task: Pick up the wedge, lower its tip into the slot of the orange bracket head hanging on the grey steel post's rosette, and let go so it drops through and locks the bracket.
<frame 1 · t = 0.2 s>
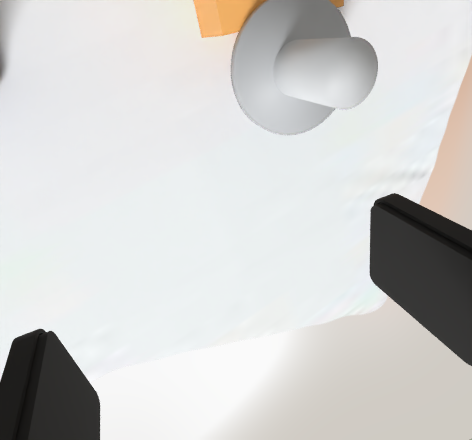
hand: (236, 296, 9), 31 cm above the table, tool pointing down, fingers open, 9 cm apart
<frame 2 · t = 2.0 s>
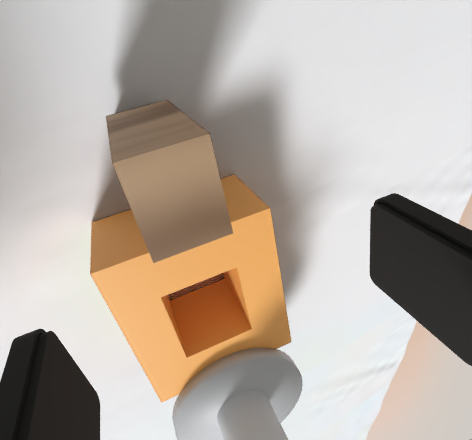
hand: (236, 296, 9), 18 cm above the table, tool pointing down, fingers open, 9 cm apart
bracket: (188, 263, 31), on the table
wedge: (145, 137, 24), on the table
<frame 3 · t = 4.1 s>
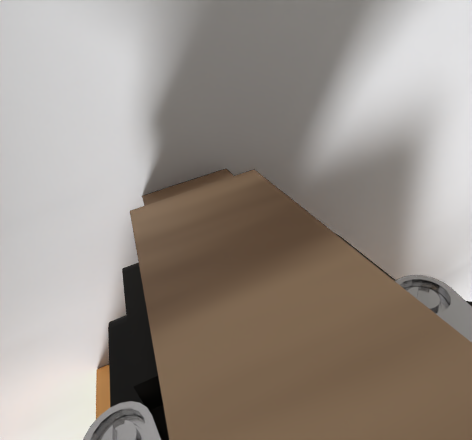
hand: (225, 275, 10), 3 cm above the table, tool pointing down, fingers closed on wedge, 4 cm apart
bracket: (250, 399, 19), on the table
wedge: (198, 227, 13), on the table, touching gripper
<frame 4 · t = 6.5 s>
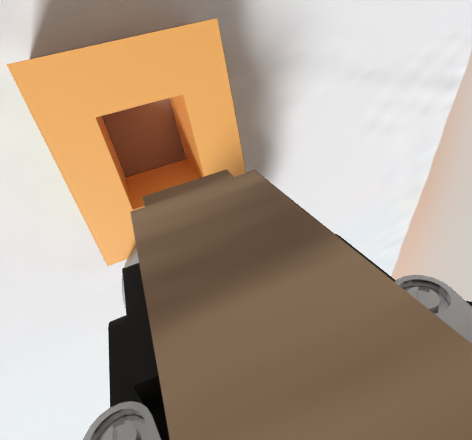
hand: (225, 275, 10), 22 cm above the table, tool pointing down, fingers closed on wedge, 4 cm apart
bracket: (144, 132, 28), on the table
wedge: (199, 228, 13), point 18 cm above the table, touching gripper
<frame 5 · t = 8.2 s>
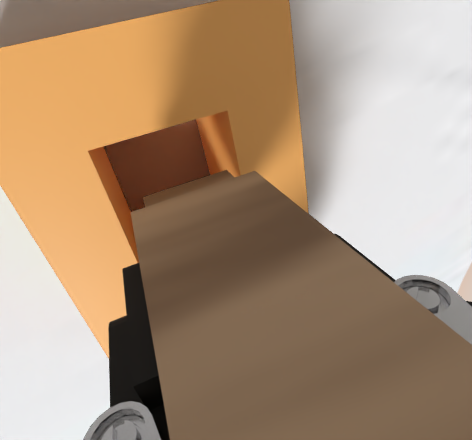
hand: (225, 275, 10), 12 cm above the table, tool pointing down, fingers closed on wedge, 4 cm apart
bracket: (159, 157, 20), on the table
wedge: (199, 228, 13), point 9 cm above the table, touching gripper
when the fingers open (8 cm above the table, at t = 9.4 s): wedge drops 4 cm, resting in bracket.
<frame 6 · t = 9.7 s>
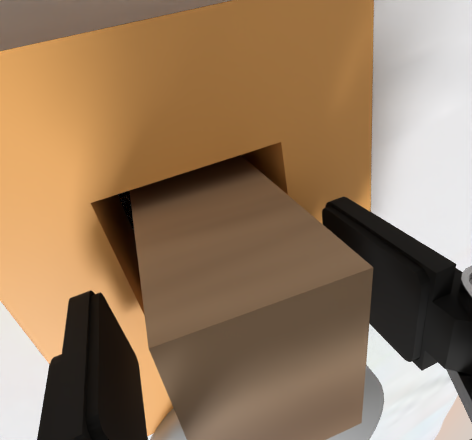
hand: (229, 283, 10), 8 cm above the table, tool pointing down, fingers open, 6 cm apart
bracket: (177, 187, 17), on the table
wedge: (179, 185, 17), resting in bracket
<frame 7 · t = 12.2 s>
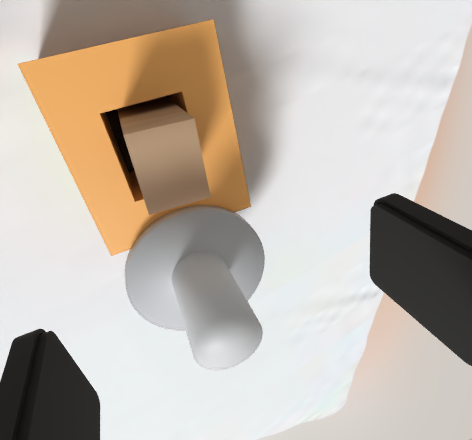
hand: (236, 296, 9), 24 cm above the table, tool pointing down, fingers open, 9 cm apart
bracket: (146, 129, 30), on the table
wedge: (147, 128, 30), resting in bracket
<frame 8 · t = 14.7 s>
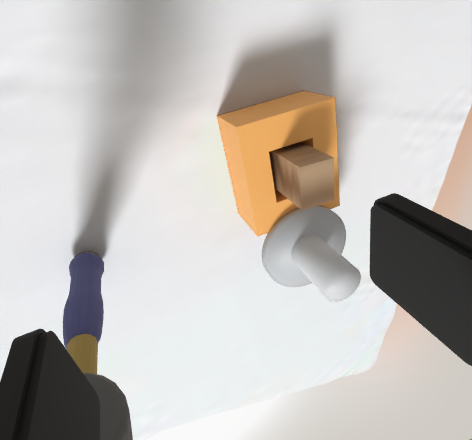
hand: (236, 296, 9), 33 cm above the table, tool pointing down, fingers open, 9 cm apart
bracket: (269, 155, 45), on the table
wedge: (270, 154, 45), resting in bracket
rubber mallet: (87, 259, 43), on the table
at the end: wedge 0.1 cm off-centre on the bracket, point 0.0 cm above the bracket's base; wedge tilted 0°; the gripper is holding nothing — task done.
